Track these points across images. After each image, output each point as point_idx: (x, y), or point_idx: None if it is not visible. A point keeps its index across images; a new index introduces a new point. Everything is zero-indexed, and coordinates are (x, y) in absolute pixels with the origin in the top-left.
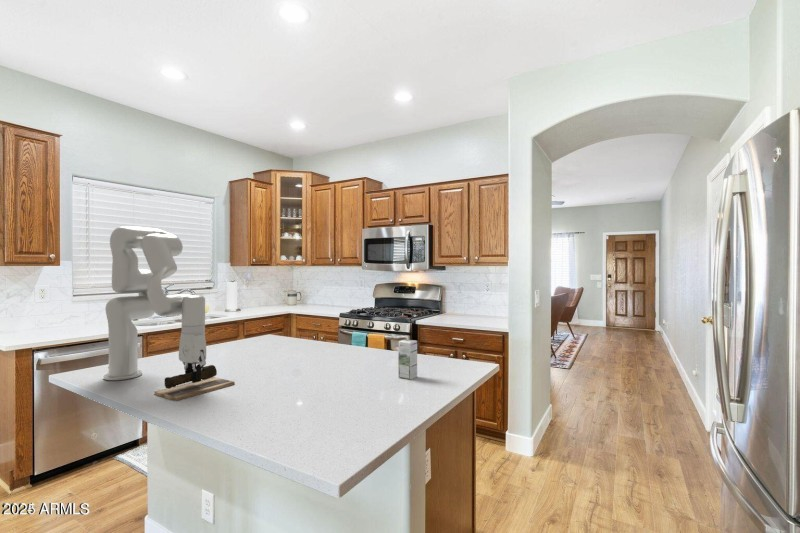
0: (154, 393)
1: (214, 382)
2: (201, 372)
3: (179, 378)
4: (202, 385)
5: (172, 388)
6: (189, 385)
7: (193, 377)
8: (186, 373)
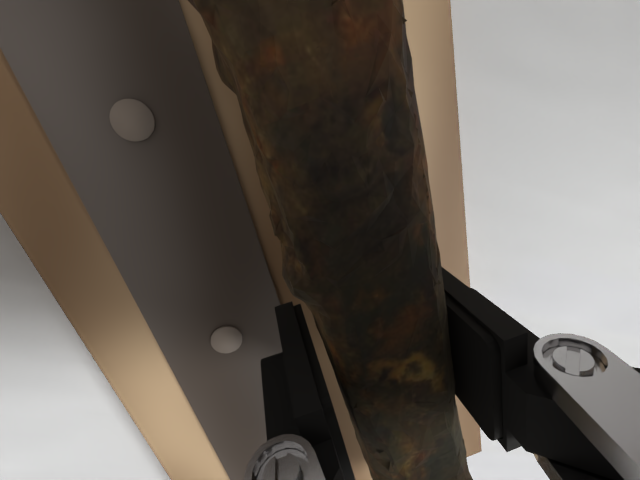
0: None
1: None
2: (372, 470)
3: (258, 150)
4: None
5: None
6: None
7: (283, 354)
8: (430, 314)
